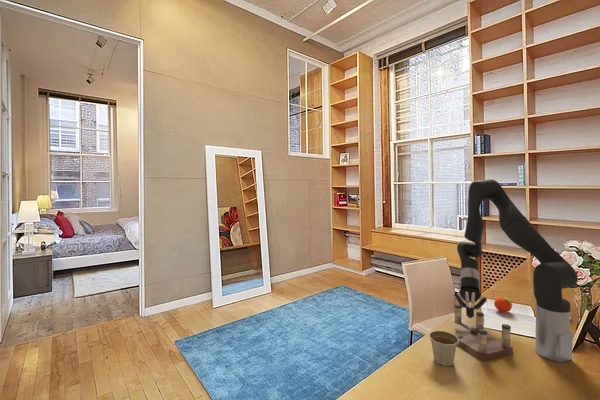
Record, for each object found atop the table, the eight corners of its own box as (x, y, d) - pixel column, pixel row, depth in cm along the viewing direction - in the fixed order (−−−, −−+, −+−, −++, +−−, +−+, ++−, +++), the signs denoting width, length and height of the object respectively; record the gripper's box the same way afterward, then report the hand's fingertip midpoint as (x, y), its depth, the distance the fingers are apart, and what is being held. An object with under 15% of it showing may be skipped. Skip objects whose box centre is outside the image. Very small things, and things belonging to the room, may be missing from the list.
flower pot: (446, 373, 98) (446, 347, 97) (423, 358, 106) (423, 334, 106) (464, 364, 102) (465, 339, 102) (440, 350, 111) (440, 328, 110)
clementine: (517, 314, 139) (518, 299, 138) (507, 316, 136) (507, 301, 136) (500, 307, 146) (501, 293, 146) (490, 310, 144) (490, 295, 143)
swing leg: (478, 332, 118) (479, 313, 118) (473, 333, 117) (473, 314, 117) (457, 321, 128) (458, 303, 128) (452, 322, 127) (453, 304, 127)
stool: (512, 352, 108) (513, 327, 108) (482, 360, 104) (482, 333, 104) (478, 334, 122) (479, 311, 121) (450, 340, 118) (450, 316, 117)
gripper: (453, 274, 137) (452, 310, 127) (487, 278, 130) (489, 316, 120) (453, 282, 142) (452, 317, 132) (486, 286, 135) (488, 324, 125)
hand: (470, 317), depth 126 cm, fingers closed
